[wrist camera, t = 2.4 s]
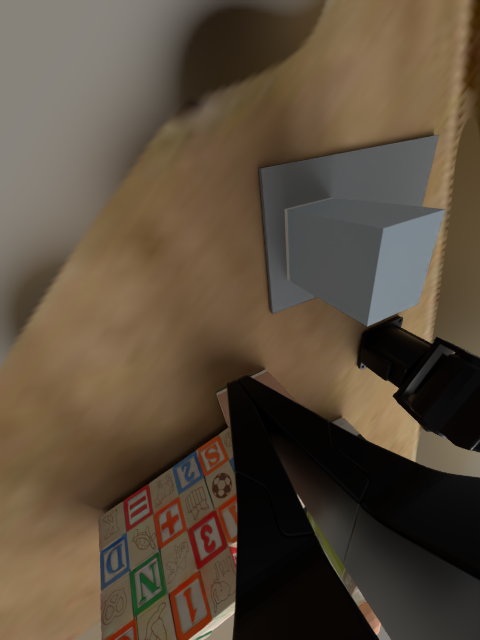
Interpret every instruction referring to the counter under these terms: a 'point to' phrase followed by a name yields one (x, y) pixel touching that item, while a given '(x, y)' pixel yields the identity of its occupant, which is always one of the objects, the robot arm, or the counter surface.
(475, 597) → the robot arm
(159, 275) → the counter surface
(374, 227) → the slate blue block
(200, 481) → the stack of blocks
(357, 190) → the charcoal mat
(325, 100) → the counter surface
